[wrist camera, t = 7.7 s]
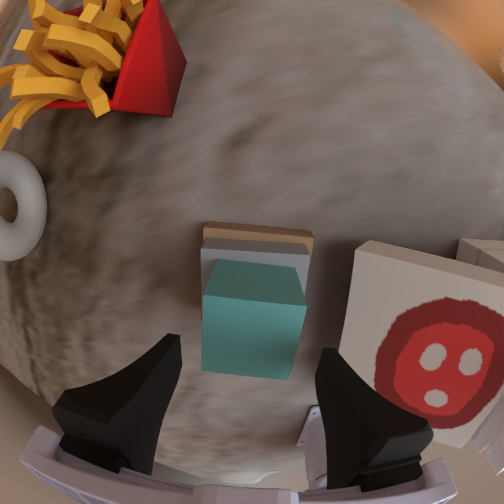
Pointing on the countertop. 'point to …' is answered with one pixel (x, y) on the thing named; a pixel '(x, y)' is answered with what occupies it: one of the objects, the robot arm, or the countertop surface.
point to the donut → (22, 206)
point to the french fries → (95, 61)
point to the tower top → (253, 256)
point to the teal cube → (252, 319)
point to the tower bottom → (256, 235)
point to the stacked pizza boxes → (433, 337)
